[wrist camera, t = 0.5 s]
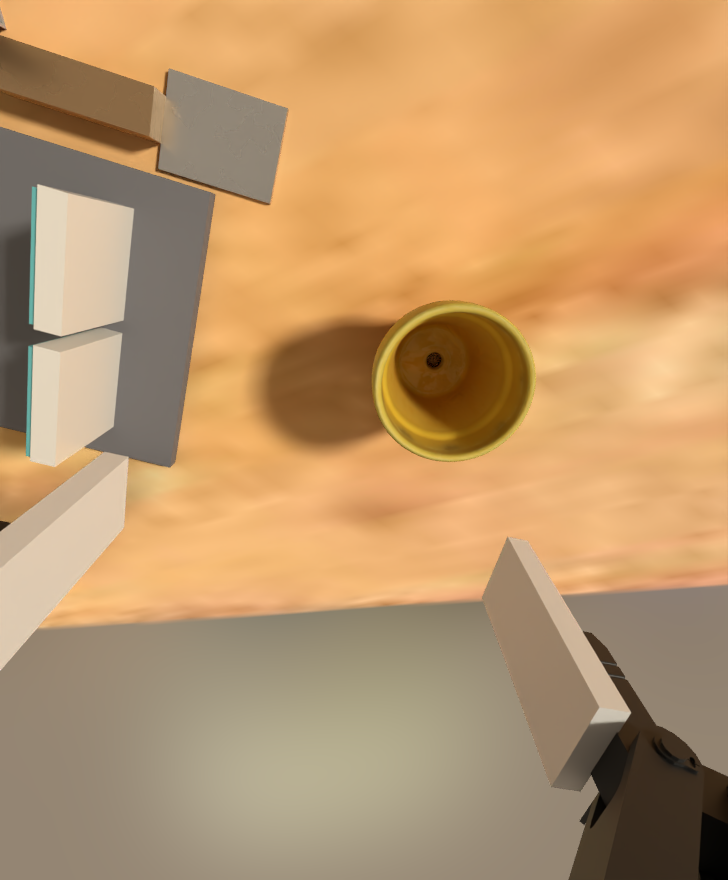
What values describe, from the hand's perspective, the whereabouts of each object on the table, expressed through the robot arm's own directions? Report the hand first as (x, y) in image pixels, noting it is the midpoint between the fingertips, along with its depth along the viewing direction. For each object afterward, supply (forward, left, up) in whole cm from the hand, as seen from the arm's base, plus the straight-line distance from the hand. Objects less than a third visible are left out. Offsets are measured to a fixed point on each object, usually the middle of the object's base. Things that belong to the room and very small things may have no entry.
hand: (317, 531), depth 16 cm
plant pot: (-3, +7, -24) cm, 25 cm away
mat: (+1, -21, -24) cm, 32 cm away
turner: (-14, -17, -24) cm, 33 cm away
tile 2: (+5, -18, -23) cm, 30 cm away
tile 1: (-4, -18, -23) cm, 29 cm away
